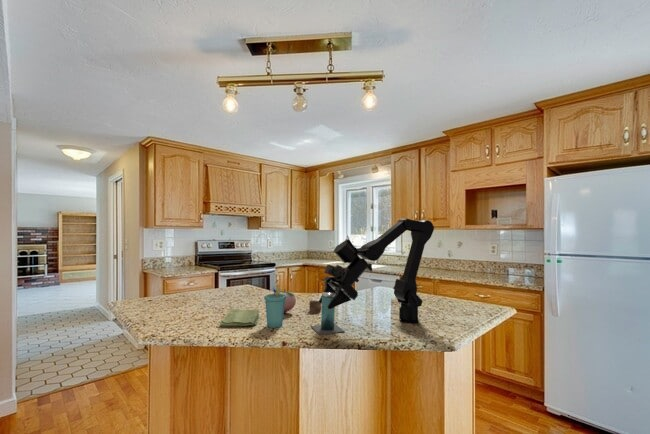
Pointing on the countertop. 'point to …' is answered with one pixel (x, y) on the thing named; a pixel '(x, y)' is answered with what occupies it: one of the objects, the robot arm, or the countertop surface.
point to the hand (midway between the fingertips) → (323, 305)
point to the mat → (323, 332)
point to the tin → (327, 311)
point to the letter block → (315, 305)
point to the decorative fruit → (288, 300)
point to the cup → (275, 307)
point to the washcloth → (240, 318)
